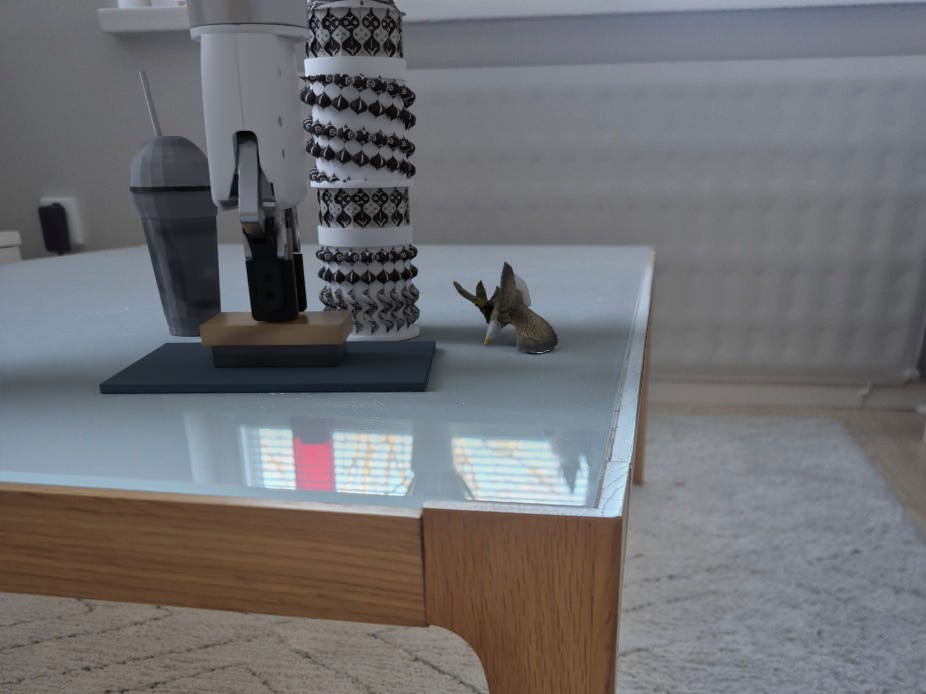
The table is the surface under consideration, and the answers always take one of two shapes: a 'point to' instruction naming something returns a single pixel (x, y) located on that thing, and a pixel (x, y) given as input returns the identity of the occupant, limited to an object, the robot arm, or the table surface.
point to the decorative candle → (362, 164)
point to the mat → (278, 371)
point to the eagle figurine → (512, 312)
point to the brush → (278, 337)
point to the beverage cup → (178, 225)
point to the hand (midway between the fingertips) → (280, 313)
